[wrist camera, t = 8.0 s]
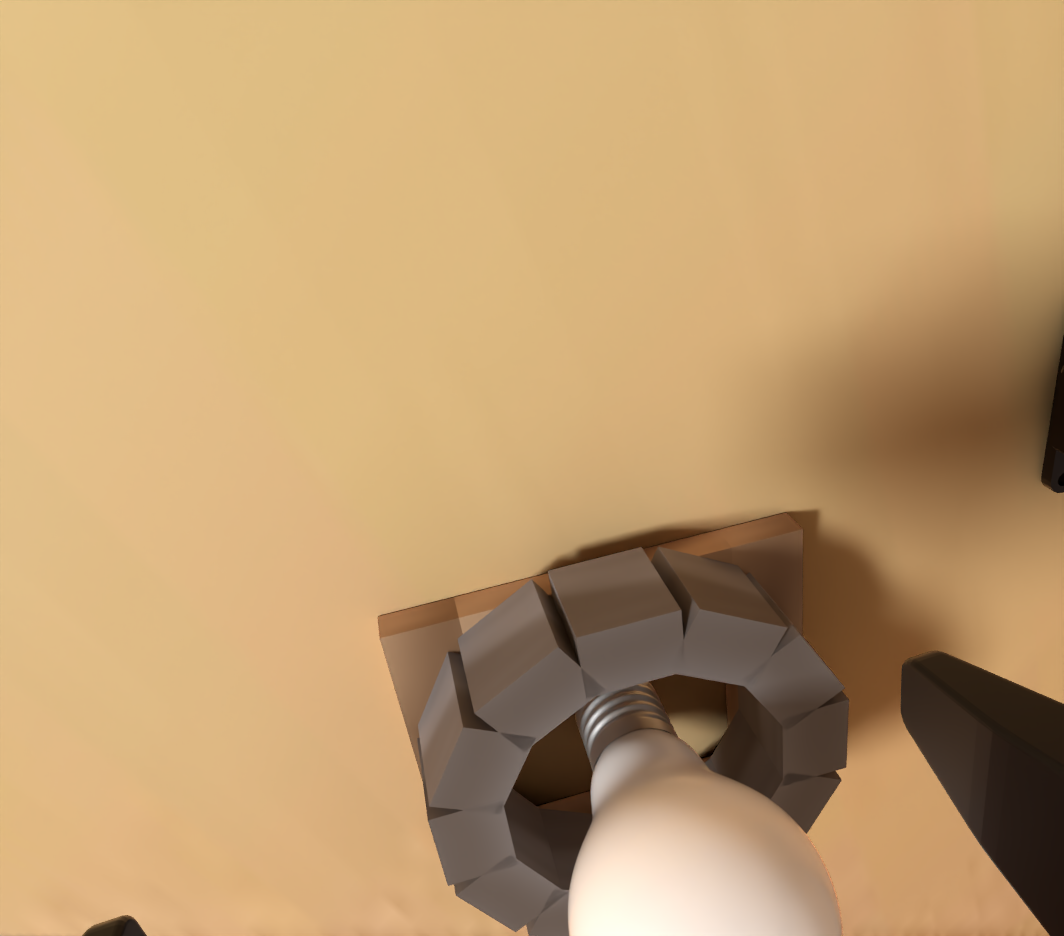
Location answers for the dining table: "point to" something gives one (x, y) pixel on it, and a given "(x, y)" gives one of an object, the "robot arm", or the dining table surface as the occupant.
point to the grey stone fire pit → (597, 668)
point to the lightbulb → (685, 840)
